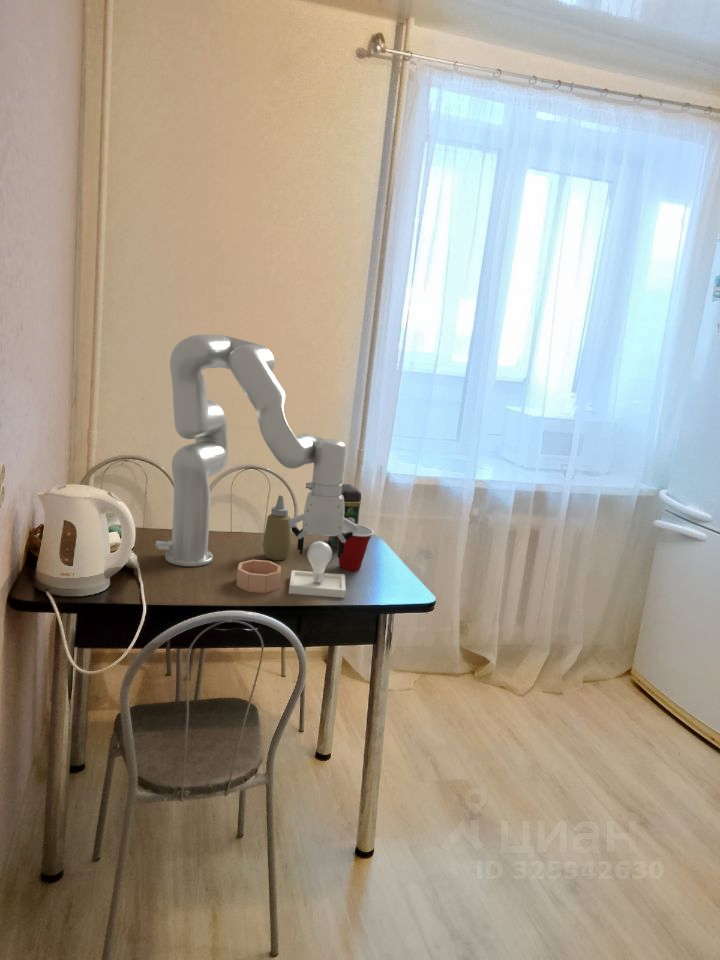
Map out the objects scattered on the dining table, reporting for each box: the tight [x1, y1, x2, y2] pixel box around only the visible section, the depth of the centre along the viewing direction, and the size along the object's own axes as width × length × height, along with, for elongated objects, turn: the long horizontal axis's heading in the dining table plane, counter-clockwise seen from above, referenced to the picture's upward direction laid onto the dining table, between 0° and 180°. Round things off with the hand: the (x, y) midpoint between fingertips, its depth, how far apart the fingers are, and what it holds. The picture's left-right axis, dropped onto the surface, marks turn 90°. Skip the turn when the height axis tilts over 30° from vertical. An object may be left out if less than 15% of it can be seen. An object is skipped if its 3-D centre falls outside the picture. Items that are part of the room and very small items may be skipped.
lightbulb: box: [306, 540, 333, 583], centre depth 184 cm, size 6×6×11 cm
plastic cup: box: [337, 523, 374, 573], centre depth 200 cm, size 11×11×12 cm
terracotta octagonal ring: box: [236, 559, 282, 594], centre depth 183 cm, size 11×11×4 cm
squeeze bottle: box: [262, 494, 292, 561], centre depth 202 cm, size 8×8×18 cm
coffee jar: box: [328, 483, 362, 549], centre depth 219 cm, size 10×8×19 cm
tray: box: [288, 569, 347, 599], centre depth 185 cm, size 14×11×2 cm
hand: (320, 554), depth 184 cm, fingers open, 9 cm apart
